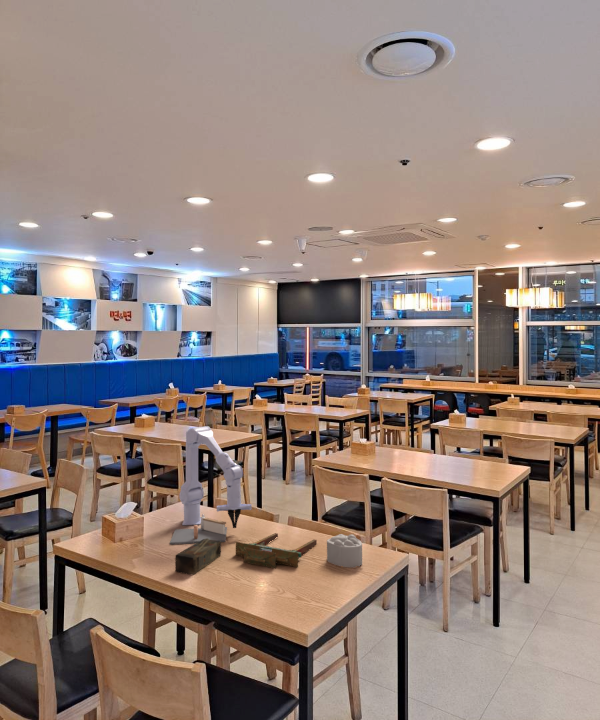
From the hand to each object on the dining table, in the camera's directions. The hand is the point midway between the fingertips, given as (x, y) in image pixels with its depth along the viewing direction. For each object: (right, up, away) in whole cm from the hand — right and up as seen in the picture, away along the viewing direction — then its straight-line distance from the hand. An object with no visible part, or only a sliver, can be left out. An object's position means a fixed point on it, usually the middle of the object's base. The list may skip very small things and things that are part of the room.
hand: (234, 527), depth 228 cm
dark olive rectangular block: (-9, -4, -31) cm, 32 cm away
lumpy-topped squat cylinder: (+44, -3, -31) cm, 54 cm away
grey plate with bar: (-14, -3, -2) cm, 15 cm away
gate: (-9, -2, +1) cm, 9 cm away
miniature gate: (+19, -4, -22) cm, 29 cm away
